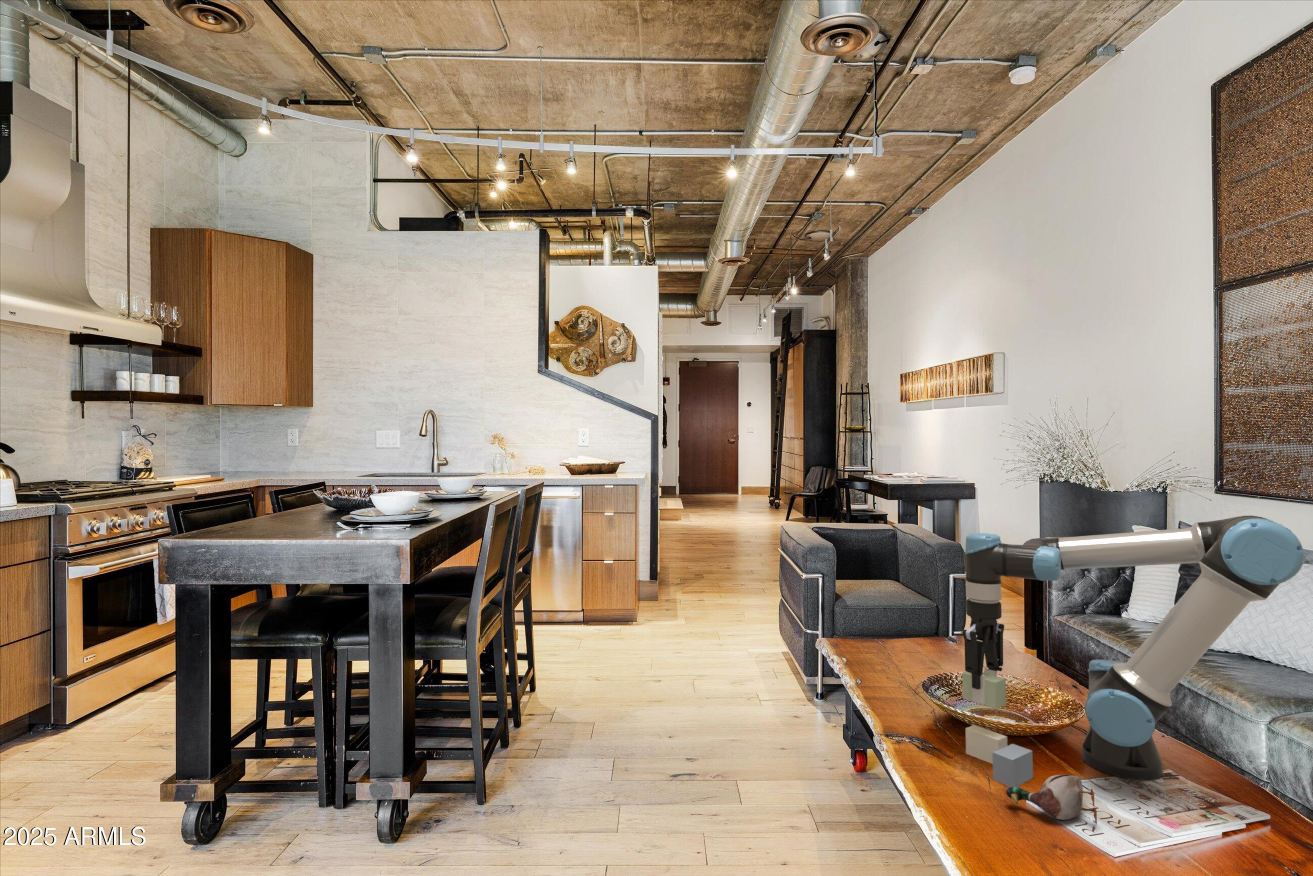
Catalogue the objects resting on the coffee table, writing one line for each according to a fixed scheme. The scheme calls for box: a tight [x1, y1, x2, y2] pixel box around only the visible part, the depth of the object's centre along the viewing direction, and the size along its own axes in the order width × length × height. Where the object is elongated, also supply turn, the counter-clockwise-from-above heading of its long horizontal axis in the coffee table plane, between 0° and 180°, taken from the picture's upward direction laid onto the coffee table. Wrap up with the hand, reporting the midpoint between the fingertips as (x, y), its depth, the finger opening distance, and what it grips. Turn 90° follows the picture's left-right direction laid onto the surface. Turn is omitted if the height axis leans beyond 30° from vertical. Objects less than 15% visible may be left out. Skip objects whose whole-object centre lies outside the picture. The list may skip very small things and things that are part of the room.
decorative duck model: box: [1005, 774, 1098, 826], centre depth 133 cm, size 15×8×15 cm
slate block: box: [992, 743, 1034, 788], centre depth 146 cm, size 8×4×6 cm, turn 123°
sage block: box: [961, 671, 1007, 710], centre depth 157 cm, size 8×4×6 cm, turn 33°
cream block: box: [965, 724, 1008, 765], centre depth 156 cm, size 8×4×6 cm, turn 33°
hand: (984, 699), depth 157 cm, fingers closed on sage block, 4 cm apart
